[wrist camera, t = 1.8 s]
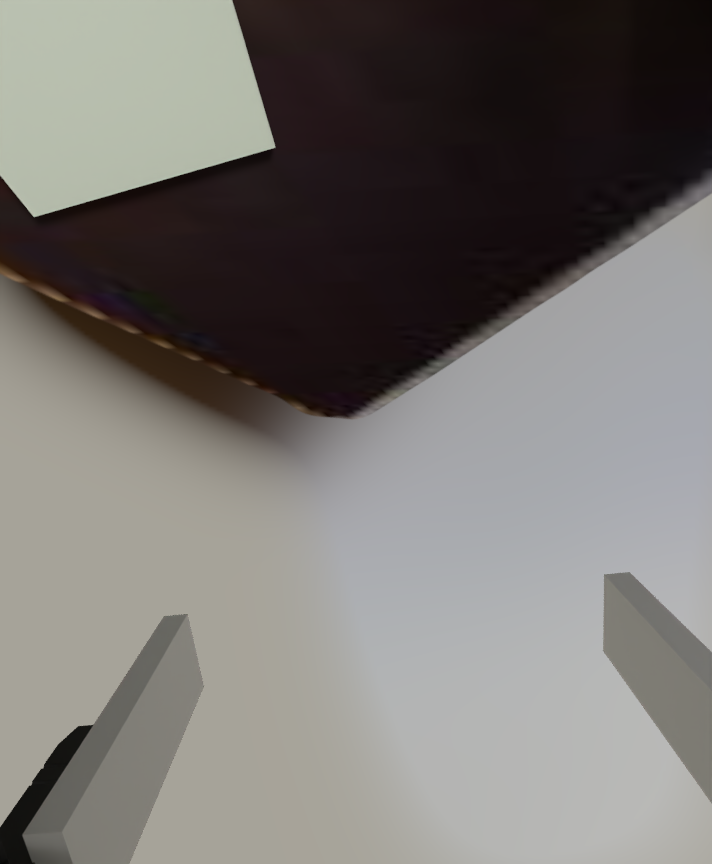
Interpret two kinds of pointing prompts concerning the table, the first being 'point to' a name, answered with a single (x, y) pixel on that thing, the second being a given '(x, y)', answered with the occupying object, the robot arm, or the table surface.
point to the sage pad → (121, 96)
